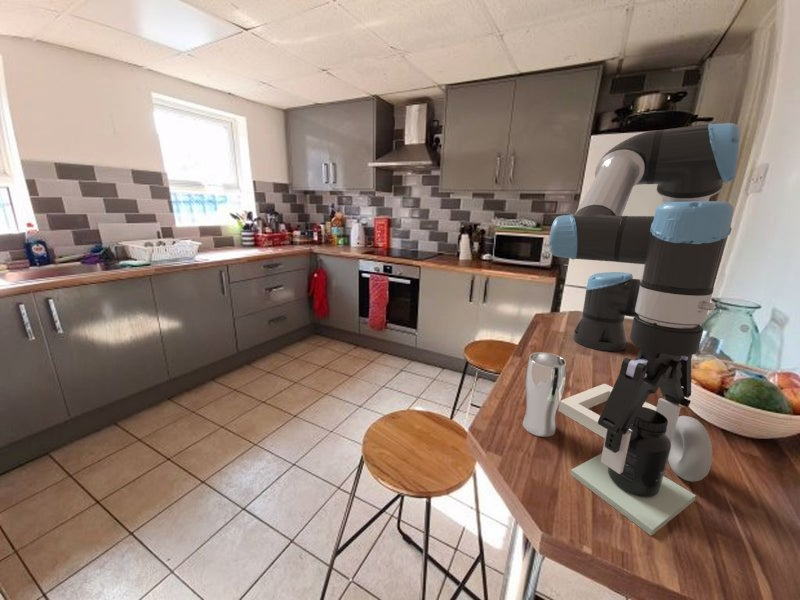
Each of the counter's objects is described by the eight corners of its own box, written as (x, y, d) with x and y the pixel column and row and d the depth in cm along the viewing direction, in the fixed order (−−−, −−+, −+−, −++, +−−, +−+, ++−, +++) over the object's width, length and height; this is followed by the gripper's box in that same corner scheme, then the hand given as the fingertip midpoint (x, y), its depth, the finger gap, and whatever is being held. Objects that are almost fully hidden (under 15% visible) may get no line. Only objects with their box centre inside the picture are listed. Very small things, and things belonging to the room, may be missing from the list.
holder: (602, 392, 79) (604, 383, 79) (682, 430, 66) (685, 420, 65) (558, 410, 72) (559, 400, 71) (637, 458, 58) (640, 446, 58)
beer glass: (512, 421, 68) (520, 355, 64) (538, 413, 71) (546, 349, 67) (538, 442, 62) (548, 370, 58) (565, 433, 65) (576, 363, 61)
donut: (707, 499, 50) (724, 443, 47) (679, 492, 51) (694, 437, 49) (680, 455, 59) (694, 406, 56) (657, 450, 60) (669, 402, 58)
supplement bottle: (669, 503, 48) (688, 432, 45) (617, 495, 49) (633, 426, 46) (645, 468, 55) (660, 404, 52) (600, 462, 56) (612, 399, 53)
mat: (613, 451, 60) (614, 446, 60) (694, 500, 50) (695, 495, 50) (570, 474, 55) (571, 469, 54) (651, 535, 44) (652, 530, 44)
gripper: (648, 345, 36) (614, 502, 42) (743, 314, 47) (706, 440, 53) (583, 325, 43) (562, 463, 48) (680, 301, 54) (653, 415, 59)
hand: (637, 451), depth 50 cm, fingers open, 13 cm apart
